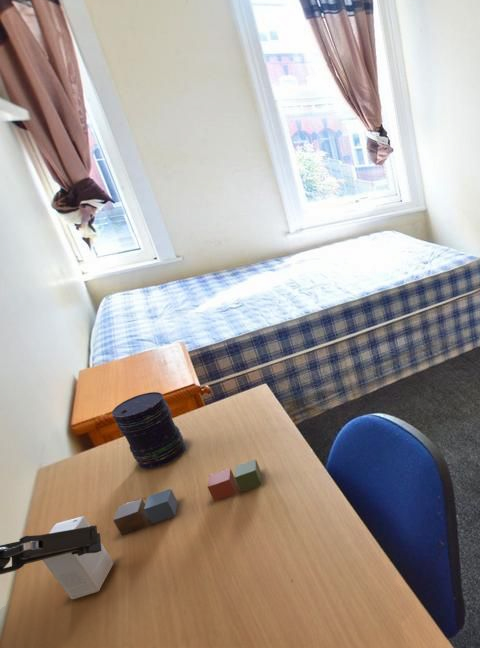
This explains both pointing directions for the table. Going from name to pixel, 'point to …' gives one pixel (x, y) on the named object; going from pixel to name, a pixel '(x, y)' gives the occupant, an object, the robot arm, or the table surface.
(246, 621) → the table surface
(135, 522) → the block
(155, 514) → the block
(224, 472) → the block
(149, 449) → the storage jar
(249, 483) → the block
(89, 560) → the cosmetic box
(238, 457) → the table surface
